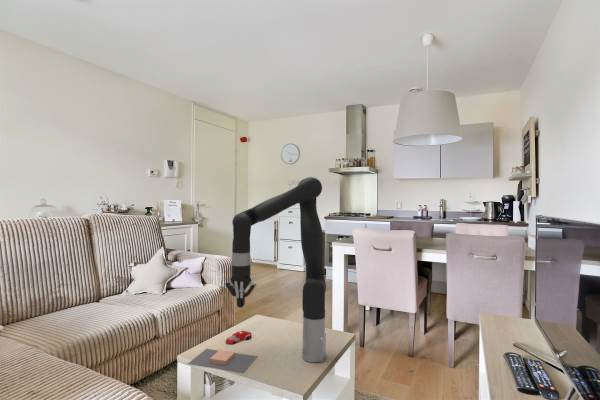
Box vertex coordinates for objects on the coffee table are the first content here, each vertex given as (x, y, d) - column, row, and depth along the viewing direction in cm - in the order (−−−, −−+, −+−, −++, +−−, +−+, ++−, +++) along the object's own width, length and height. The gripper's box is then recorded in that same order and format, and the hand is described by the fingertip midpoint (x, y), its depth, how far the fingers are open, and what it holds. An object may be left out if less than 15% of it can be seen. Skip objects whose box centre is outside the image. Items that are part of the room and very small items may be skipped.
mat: (258, 357, 135) (258, 356, 135) (243, 374, 122) (243, 373, 122) (206, 350, 142) (206, 348, 142) (187, 365, 128) (187, 363, 128)
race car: (229, 347, 145) (230, 338, 145) (223, 344, 149) (223, 335, 149) (253, 339, 155) (253, 330, 155) (246, 335, 158) (246, 327, 158)
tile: (235, 352, 135) (219, 349, 137) (225, 360, 127) (209, 358, 129) (235, 356, 135) (219, 354, 137) (225, 365, 127) (209, 363, 129)
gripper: (260, 262, 132) (259, 305, 132) (230, 261, 136) (230, 302, 135) (252, 266, 125) (252, 311, 125) (221, 264, 128) (221, 308, 128)
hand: (240, 306), depth 130 cm, fingers closed
